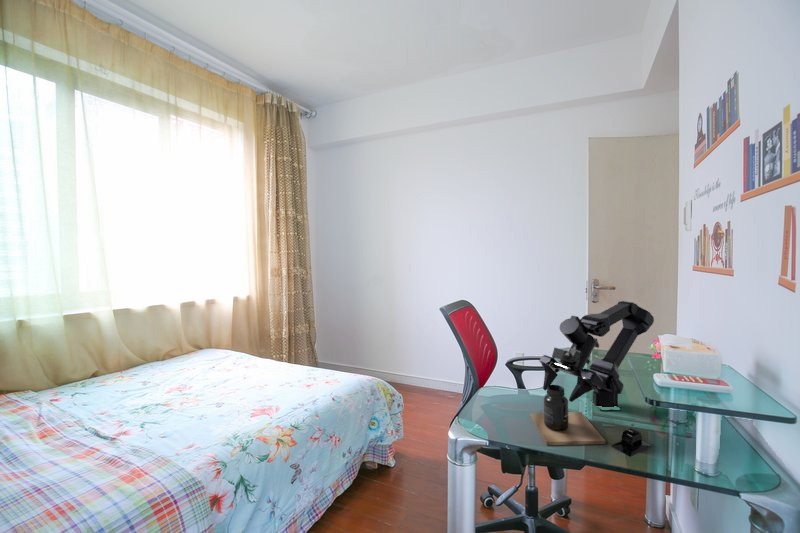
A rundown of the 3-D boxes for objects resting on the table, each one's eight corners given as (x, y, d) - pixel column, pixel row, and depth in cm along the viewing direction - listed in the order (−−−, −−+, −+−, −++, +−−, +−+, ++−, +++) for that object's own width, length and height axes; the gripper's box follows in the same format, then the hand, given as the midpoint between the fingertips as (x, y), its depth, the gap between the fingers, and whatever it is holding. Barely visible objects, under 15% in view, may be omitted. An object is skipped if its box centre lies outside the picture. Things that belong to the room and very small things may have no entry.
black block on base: (634, 435, 108) (634, 420, 107) (660, 448, 101) (660, 432, 100) (604, 447, 103) (604, 432, 102) (629, 462, 96) (629, 446, 96)
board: (581, 414, 119) (581, 411, 119) (605, 443, 103) (605, 440, 103) (530, 416, 121) (530, 413, 120) (546, 445, 105) (546, 441, 105)
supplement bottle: (572, 432, 108) (571, 392, 107) (547, 432, 109) (546, 393, 108) (564, 419, 115) (563, 382, 114) (541, 419, 116) (540, 383, 115)
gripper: (542, 330, 120) (518, 371, 116) (596, 345, 104) (571, 393, 100) (559, 348, 125) (537, 389, 121) (613, 365, 108) (590, 412, 104)
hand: (556, 395), depth 111 cm, fingers open, 9 cm apart
